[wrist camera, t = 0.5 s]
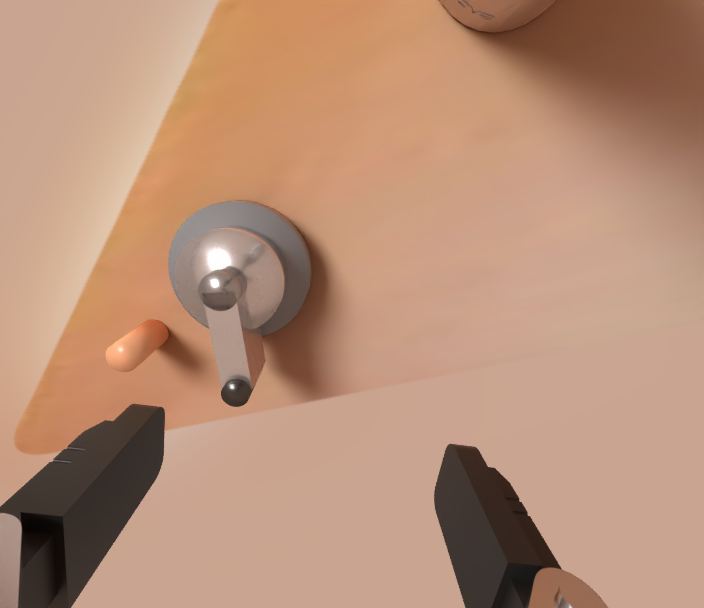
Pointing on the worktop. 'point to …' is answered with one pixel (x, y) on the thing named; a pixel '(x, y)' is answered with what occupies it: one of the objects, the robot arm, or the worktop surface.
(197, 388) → the worktop surface
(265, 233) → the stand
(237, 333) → the dial
